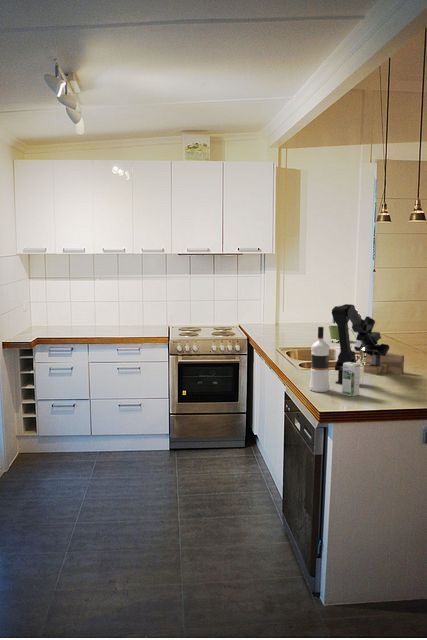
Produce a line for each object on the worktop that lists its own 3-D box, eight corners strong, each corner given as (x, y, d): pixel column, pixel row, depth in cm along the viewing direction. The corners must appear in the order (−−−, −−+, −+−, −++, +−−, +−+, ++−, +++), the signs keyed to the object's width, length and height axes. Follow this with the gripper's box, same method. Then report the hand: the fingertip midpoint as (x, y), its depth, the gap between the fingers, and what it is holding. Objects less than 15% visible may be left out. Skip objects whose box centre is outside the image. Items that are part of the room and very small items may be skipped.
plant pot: (327, 343, 384) (327, 327, 382) (328, 340, 395) (329, 325, 393) (344, 343, 380) (344, 328, 379) (345, 341, 391) (345, 325, 390)
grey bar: (375, 370, 288) (376, 346, 286) (371, 369, 290) (372, 346, 288) (379, 369, 290) (380, 345, 289) (376, 368, 292) (376, 345, 291)
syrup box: (341, 394, 245) (342, 363, 243) (348, 392, 249) (349, 361, 247) (352, 396, 241) (353, 365, 239) (359, 394, 245) (360, 363, 243)
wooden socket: (388, 377, 279) (388, 358, 277) (353, 370, 296) (353, 352, 294) (403, 373, 287) (404, 355, 286) (368, 366, 304) (369, 349, 303)
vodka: (307, 387, 257) (308, 325, 253) (326, 387, 258) (328, 325, 254) (311, 392, 248) (313, 328, 244) (331, 392, 248) (333, 328, 245)
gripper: (388, 329, 277) (399, 348, 286) (358, 325, 292) (369, 343, 300) (378, 346, 273) (390, 364, 282) (348, 341, 288) (360, 359, 296)
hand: (377, 357), depth 290 cm, fingers closed on grey bar, 2 cm apart
